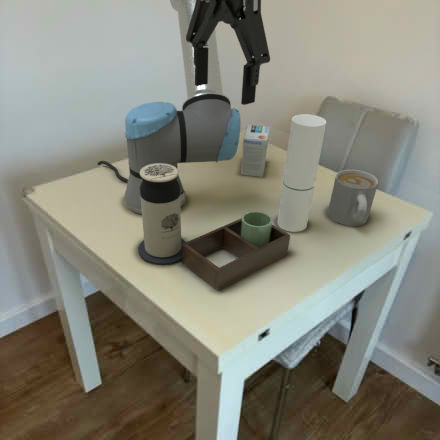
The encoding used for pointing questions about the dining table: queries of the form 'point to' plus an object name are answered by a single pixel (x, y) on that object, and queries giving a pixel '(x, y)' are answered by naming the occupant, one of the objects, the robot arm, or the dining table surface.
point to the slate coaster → (159, 260)
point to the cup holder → (240, 247)
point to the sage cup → (256, 228)
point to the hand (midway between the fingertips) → (223, 93)
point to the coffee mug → (352, 197)
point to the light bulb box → (254, 150)
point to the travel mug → (161, 209)
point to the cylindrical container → (300, 171)
